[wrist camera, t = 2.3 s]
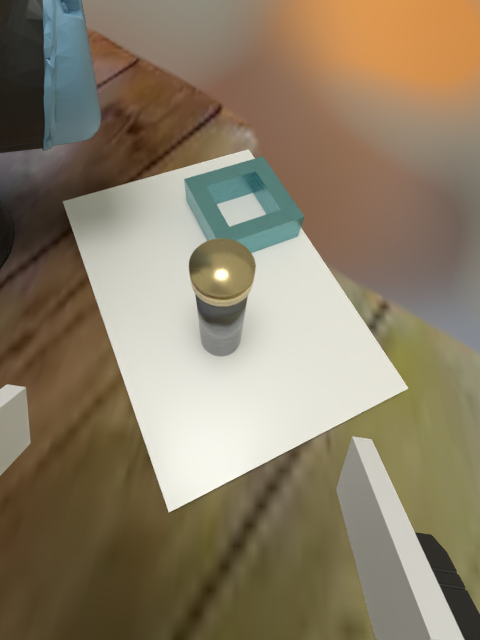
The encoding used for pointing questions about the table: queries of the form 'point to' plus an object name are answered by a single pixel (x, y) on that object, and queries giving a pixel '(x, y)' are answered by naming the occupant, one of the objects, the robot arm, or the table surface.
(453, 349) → the table surface
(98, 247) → the board
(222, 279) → the gold capped grey cylinder
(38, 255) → the table surface
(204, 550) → the table surface
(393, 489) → the robot arm
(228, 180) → the teal square frame
